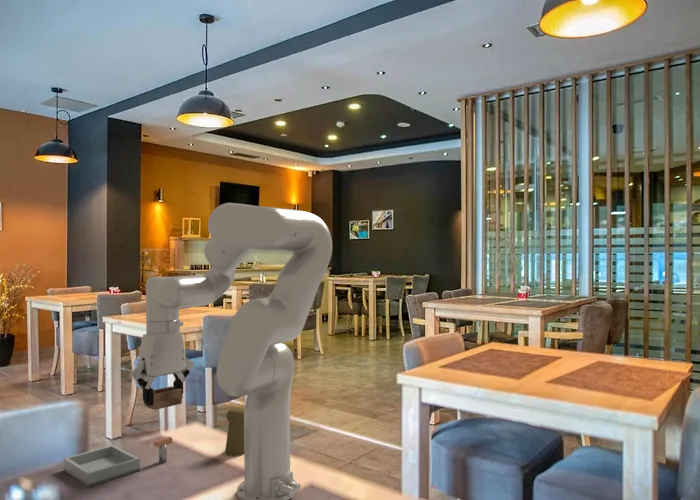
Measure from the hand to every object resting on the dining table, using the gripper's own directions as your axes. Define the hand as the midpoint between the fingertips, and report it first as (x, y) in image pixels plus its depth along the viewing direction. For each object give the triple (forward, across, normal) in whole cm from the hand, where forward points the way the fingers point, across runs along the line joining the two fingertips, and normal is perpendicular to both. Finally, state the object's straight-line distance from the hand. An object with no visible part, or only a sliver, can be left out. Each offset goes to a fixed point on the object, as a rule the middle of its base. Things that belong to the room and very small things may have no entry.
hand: (163, 400), depth 128 cm
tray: (+15, +12, -6) cm, 20 cm away
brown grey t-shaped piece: (+15, 0, 0) cm, 15 cm away
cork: (+15, -16, +8) cm, 23 cm away
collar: (+1, 0, 0) cm, 1 cm away
